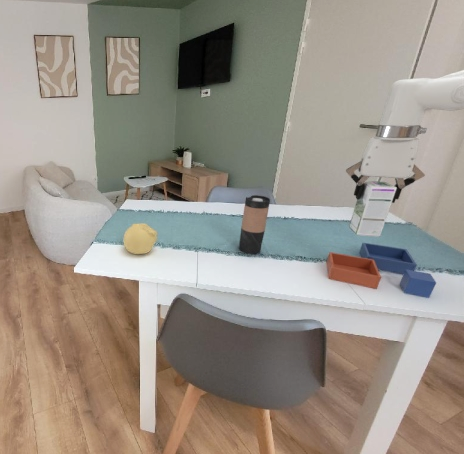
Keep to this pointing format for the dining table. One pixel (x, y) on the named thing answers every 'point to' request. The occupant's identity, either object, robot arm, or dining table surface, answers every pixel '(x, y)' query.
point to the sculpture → (140, 238)
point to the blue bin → (388, 258)
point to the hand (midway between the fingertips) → (374, 199)
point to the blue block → (417, 283)
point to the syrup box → (372, 208)
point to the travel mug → (253, 224)
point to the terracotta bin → (353, 270)
